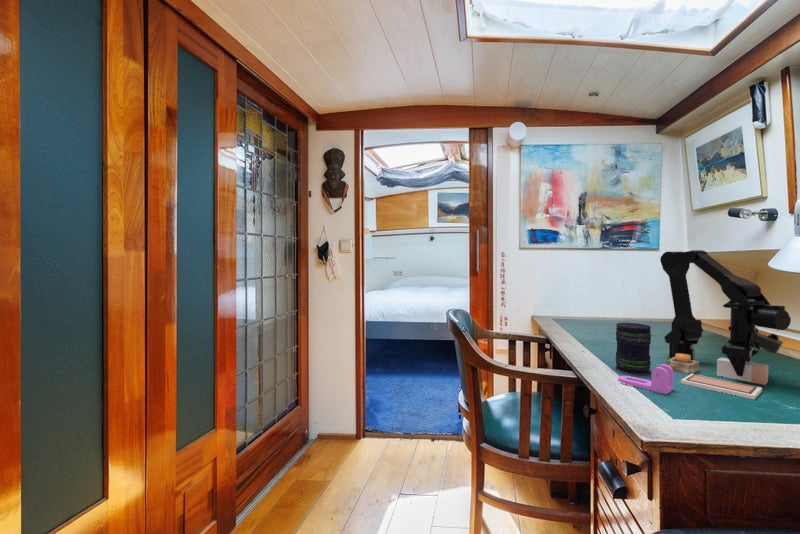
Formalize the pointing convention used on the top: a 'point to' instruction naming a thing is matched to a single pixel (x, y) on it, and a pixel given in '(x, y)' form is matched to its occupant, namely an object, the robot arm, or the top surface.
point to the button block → (683, 366)
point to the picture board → (722, 386)
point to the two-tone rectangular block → (750, 374)
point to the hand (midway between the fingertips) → (741, 374)
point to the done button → (683, 358)
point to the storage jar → (633, 348)
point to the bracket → (653, 380)
